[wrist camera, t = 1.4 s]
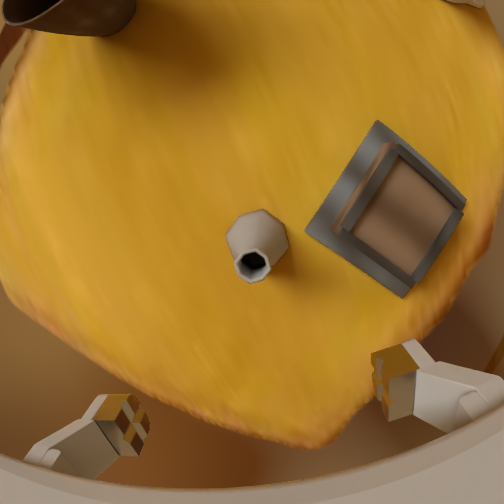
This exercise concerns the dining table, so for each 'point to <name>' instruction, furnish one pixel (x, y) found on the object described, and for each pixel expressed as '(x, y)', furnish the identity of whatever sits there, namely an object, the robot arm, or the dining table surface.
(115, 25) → the plant pot
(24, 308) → the dining table surface
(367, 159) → the walnut plinth
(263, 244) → the flask
